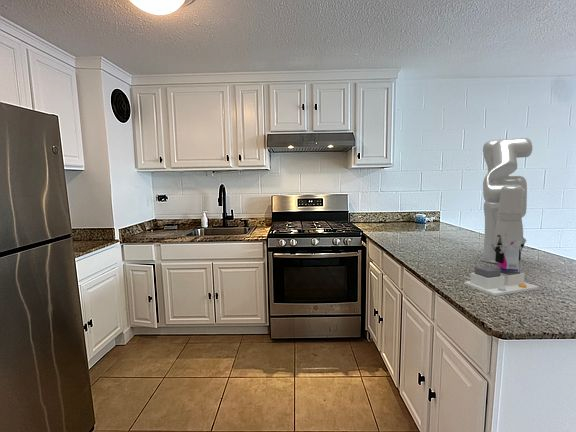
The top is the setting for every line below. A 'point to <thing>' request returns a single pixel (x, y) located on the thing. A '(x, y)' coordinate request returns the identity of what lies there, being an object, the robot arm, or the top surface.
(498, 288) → the breaker panel
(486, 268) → the plain breaker
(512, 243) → the supplement box
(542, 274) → the top surface
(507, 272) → the block
